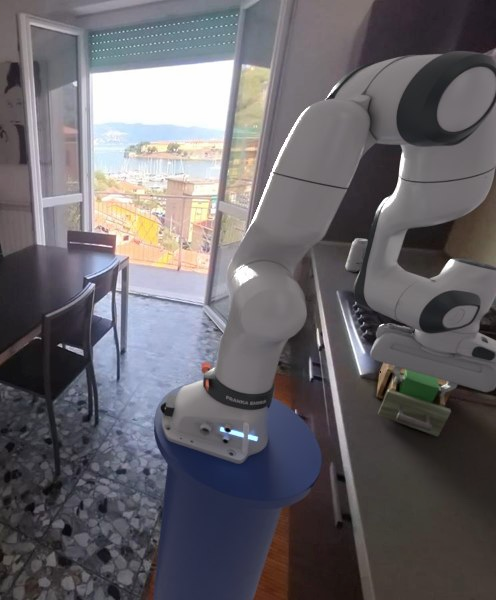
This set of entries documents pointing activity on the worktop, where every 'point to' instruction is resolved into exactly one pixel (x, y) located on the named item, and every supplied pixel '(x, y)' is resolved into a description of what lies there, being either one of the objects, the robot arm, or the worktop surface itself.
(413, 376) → the block
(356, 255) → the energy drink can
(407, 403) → the drawer
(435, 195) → the robot arm
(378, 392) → the cabinet
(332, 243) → the worktop surface
